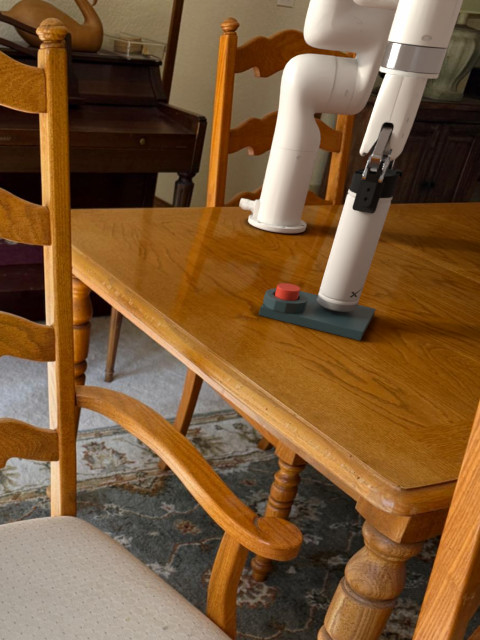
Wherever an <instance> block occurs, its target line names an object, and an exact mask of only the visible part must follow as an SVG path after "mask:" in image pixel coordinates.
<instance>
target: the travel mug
mask: <svg viewBox="0 0 480 640" xmlns="http://www.w3.org/2000/svg"><path fill="white" fill-rule="evenodd" d="M364 170H365V168H360V169H357V170H355V171H354V173H353V175H352V178H351V184H350V185H349V188H348V191H347V194H346V197H345V202H344V204H343V208H342V211H341V215H340V218H339V222H338V224H337V228H336V231H335V236H334V239H333V243H332V245H331V249H330V253H329V257H328V259H327V262H326V263H327V264H326V267H325V270H324V273H323V277H322V280H321V284H320V287H319V291H318V294H317V295H318V297H317V302H318V304H319V305H321V306H322V307H324V308H327V309H330V310H333V311H339V312H350V311H353V310H355V309H356V308H357V305H359V301H360V298H361V295H362V292H363V289H364V287H365V283H366V280H367V276H368V274H369V272H370V268H371V265H372V262H373V260H374V259H373V258H374V255H375V253H376V250H377V246H378V244H379V241H380V237H381V235H382V231H383V228H384V225H385V222H386V219H387V216H388V214H389V211H390V207H391V204H392V200H393V197H394V194H395V189H396V187H397V183H398V179H399V177H400V178H402V177H403V175H404V172H403V170H402V169H399V168H395V169H387V171H386V173H385V176H384V179H383V182H382V183H384V186H383V189H382V192H381V195H380V199H379V202H378V205H377V208H376V211H375V212H374V213H373V214H371V213H366V212H361V211H356V210H353V208H352V207H353V203H354V200H355V197H356V193H357V190H358V187H359V183H360V180H361V179H362V176H363V173H364Z"/></svg>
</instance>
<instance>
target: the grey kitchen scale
mask: <svg viewBox="0 0 480 640" xmlns="http://www.w3.org/2000/svg"><path fill="white" fill-rule="evenodd" d="M276 288H277V287H275V288H269V289H267V290H266V291H265V293H264V296H263V299H262V303H263V304H262V305H261V306H260V308H259V312H258V316H260V317H264V318H269V319H273V320H277V321H281V322H283V323H284V322H285V323H289V324H293V325H296V326H301V327H305V328H308V329H313V330H315V331H316V330H317V331H319V332H320V331H321V332H325V333H328V334H332V335H336V336H339V337H340V336H341V337H343V338H348V339H352V340H356V341H361V340H362V338H363V336H364V335H365V333H366V331H367V329H368V327H369V326H370V324H371V322H372V320H373V318H374V315H375V313H376V308H374V307H369V306H366V305H362V304H358V305H357V308H356V309H355V310H353V311H350V312H339V311H333V310H330V309H327V308H324V307H322V306H321V305H319V304H318V302H317V297H318V294H315V293H311V292H306V291H302V290H300V293H299V296H298V300H295V301H288V300H283V299H279V298H277V297H275V292H276Z"/></svg>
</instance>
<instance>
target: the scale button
mask: <svg viewBox="0 0 480 640" xmlns="http://www.w3.org/2000/svg"><path fill="white" fill-rule="evenodd" d="M275 288H276V292H275V297H277V298H279V299H283V300H288V301H295V300H298V296H299V293H300V291H301V288H300V287H299V286H298V285H296V284H293V283H287V282H281V283H278V284H277V286H276V287H275Z"/></svg>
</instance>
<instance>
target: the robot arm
mask: <svg viewBox="0 0 480 640" xmlns="http://www.w3.org/2000/svg"><path fill="white" fill-rule="evenodd" d="M463 2H464V0H309V4H308V8H307V12H306V16H305V19H304V20H305V21H304V25H303V39H304V41H305V44H307V45H308V46H310V47H312V48H316V49H320V50H328V51H335V52H336V51H337V52H345V53H353V54H356V55H355V57H354V58H353V57H344V56H335V55H329V54H320V53H302V54H298V55H296V56H294V57H292V58H290V59H289V61H288V62H287V63H286V64H285V66H284V68H283V71H282V74H281V80H280V91H279V102H278V109H277V117H276V123H275V127H274V133H273V137H272V142H271V146H270V150H269V155H268V161H267V165H266V170H265V175H264V177H263V182H262V183H263V184H262V188H261V192H260V197H259V198H258V199H255V200H251V199H249V198H244V197H241V198H240V201H239V203H238V204H239V205H238V207H239V208H241V210H244V211H249V212H250V211H251V214H249V215H248V220H247V223H249V225H251V226H253V227H255V228H258V229H260V230H264V231H267V232H272V233H278V234H300V233H303V232H305V231H306V230H307V222H306V221H304V220H302V216H303V212H304V209H305V204H306V200H307V197H308V193H309V188H310V184H311V181H312V177H313V174H314V169H315V165H316V162H317V158H318V153H319V149H320V146H321V141H322V139H321V137H322V136H321V131H320V128H319V125H318V124H317V121H316V119H315V114H330V115H339V116H354V115H357V114H359V113H360V112H361V111H363V110H364V108H365V107H366V105H367V103H368V101H369V99H370V96H371V95H372V94H371V93H372V91H373V88H374V85H375V83H376V80H377V77H378V74H379V72H380V73H384V74H385V75H384V77H383V80H382V82H381V85H380V88H379V90H378V93H377V97H376V99H375V102H374V106H373V108H372V110H371V111H372V112H371V115H370V118H369V120H368V124H367V128H366V131H365V134H364V137H363V140H362V143H361V146H360V148H359V155H360V156H361V157H365V156H366V155H368V154H369V156H368V158H367V162H366V164H365V168H364V169H365V170H364V173H363V176H362V179H361V180H360V183H359V187H358V190H357V193H356V197H355V200H354V203H353V207H352V208H353V210H356V211H361V212H366V213H371V214H373V213H374V212H375V211H376V208H377V205H378V202H379V199H380V195H381V192H382V189H383V186H384V183H382V182H383V179H384V176H385V173H386V171H387V169H392V170H394V169H393V167H394V164H395V161H396V159H397V158H398V157H399V156H400V155H401V154H402V152H403V150H404V148H405V145H406V143H407V142H408V141H407V140H408V138H409V136H410V133H411V131H412V128H413V125H414V122H415V119H416V116H417V113H418V110H419V107H420V104H421V101H422V98H423V94H424V92H425V90H426V85H427V82H428V80H429V79H430V80H431V79H432V80H433V79H435V80H436V79H438V78H439V76H440V73H441V69H442V66H443V64H444V60H445V57H446V55H447V51H448V47H449V44H450V41H451V38H452V36H453V32H454V29H455V26H456V23H457V20H458V17H459V14H460V11H461V9H462V6H463Z"/></svg>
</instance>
